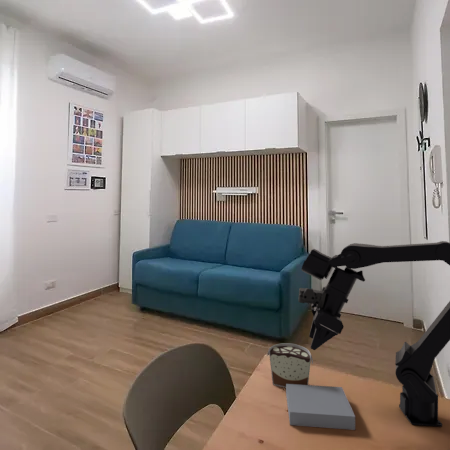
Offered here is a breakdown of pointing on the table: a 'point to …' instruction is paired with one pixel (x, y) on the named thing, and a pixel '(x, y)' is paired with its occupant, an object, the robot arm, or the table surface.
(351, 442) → the table surface
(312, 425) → the base block
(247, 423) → the table surface
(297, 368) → the food container
